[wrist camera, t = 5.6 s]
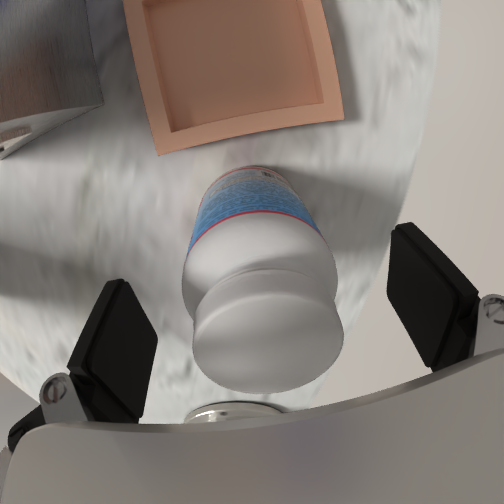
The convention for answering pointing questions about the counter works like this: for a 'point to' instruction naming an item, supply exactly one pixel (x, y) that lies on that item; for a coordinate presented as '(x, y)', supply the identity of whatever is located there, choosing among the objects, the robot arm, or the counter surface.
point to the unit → (43, 68)
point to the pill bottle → (260, 286)
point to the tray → (231, 67)
